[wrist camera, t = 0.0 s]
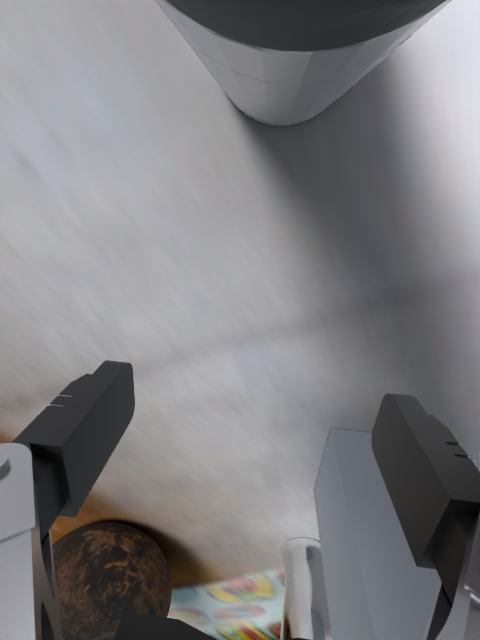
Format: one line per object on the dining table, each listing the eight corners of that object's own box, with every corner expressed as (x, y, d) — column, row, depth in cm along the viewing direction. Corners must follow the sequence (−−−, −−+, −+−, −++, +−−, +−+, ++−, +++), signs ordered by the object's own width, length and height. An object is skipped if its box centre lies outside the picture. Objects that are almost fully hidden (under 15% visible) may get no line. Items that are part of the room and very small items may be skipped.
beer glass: (340, 552, 43) (370, 728, 30) (301, 568, 46) (313, 736, 33) (306, 528, 42) (322, 703, 28) (267, 547, 44) (266, 714, 31)
